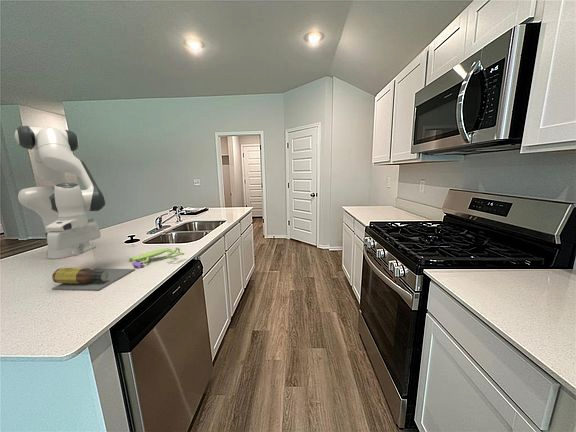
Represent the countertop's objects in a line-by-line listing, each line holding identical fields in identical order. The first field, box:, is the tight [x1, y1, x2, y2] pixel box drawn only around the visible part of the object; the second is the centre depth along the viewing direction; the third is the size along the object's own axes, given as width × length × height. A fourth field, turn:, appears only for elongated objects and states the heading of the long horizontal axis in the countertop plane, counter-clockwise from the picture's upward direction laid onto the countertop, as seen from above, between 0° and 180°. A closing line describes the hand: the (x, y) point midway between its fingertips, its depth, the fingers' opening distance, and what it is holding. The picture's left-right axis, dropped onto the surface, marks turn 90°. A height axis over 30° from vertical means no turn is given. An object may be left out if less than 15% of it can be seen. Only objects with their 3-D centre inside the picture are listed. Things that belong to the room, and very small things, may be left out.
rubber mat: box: [51, 267, 136, 292], centre depth 104 cm, size 20×20×1 cm
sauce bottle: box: [51, 267, 108, 284], centre depth 99 cm, size 7×6×20 cm
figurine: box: [128, 246, 185, 269], centre depth 125 cm, size 18×27×6 cm
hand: (79, 254), depth 103 cm, fingers closed
